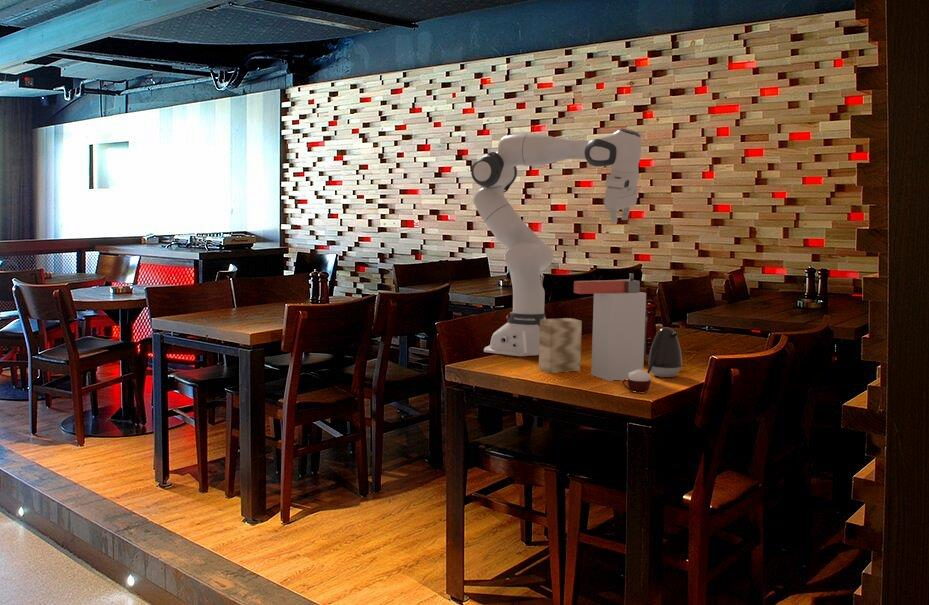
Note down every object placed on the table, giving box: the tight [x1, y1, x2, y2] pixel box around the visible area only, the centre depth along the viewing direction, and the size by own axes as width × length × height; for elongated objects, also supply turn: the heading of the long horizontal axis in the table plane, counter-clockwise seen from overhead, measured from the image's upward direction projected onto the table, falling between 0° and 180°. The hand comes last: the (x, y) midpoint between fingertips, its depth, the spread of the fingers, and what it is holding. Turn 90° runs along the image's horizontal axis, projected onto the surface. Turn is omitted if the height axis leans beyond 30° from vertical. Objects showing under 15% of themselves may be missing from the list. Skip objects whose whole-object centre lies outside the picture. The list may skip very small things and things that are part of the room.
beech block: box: [538, 317, 583, 374], centre depth 271 cm, size 11×7×16 cm, turn 113°
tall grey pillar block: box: [590, 291, 647, 382], centre depth 261 cm, size 12×10×26 cm
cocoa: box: [622, 349, 659, 393], centre depth 241 cm, size 10×6×12 cm, turn 65°
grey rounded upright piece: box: [647, 326, 683, 378], centre depth 264 cm, size 10×10×15 cm
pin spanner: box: [573, 273, 641, 295], centre depth 257 cm, size 20×6×6 cm, turn 113°
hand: (619, 221), depth 287 cm, fingers open, 8 cm apart
